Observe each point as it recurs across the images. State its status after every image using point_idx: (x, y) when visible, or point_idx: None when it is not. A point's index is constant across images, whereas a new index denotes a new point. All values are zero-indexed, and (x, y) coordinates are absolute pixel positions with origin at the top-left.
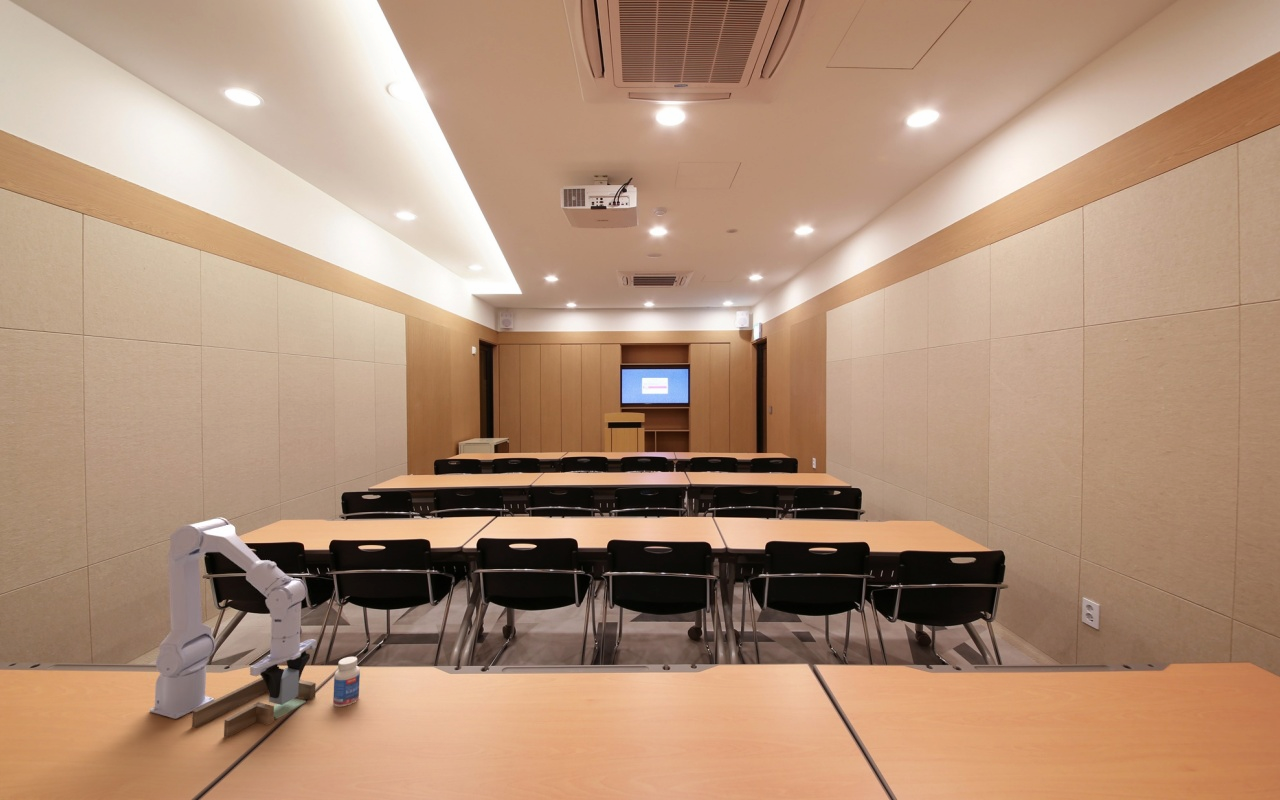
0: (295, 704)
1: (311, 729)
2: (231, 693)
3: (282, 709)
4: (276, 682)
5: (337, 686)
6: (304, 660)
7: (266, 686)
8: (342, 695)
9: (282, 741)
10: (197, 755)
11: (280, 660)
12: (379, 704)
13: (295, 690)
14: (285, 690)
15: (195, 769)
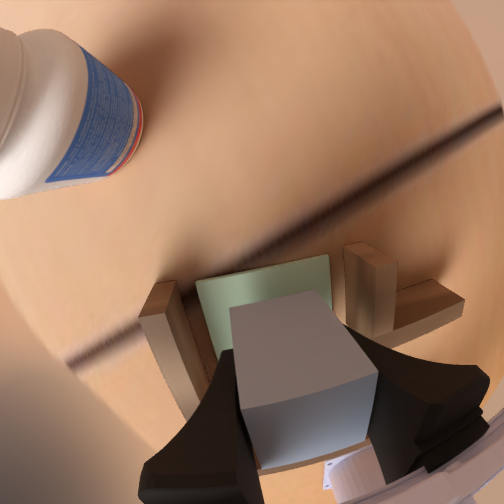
0: (235, 294)
1: (299, 53)
2: (351, 448)
3: None
4: (405, 358)
5: (107, 85)
6: (203, 465)
7: None
8: (115, 75)
9: (386, 89)
10: (478, 258)
11: (492, 464)
12: (71, 14)
13: (248, 323)
14: (318, 326)
15: (497, 203)
